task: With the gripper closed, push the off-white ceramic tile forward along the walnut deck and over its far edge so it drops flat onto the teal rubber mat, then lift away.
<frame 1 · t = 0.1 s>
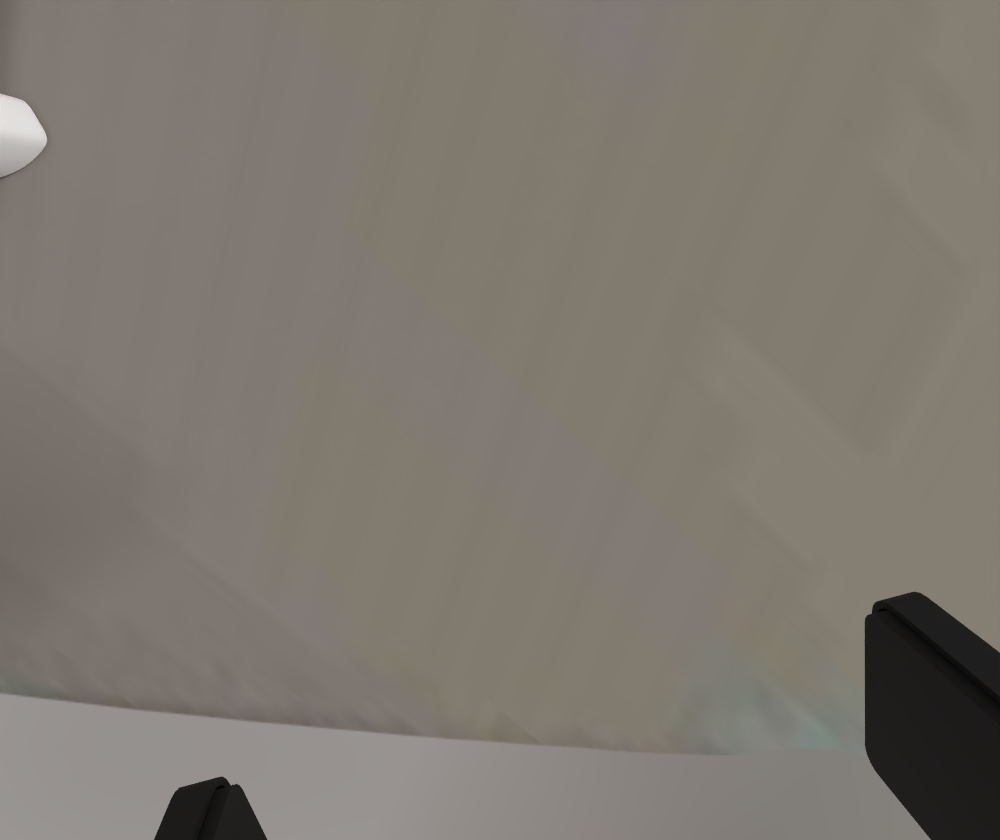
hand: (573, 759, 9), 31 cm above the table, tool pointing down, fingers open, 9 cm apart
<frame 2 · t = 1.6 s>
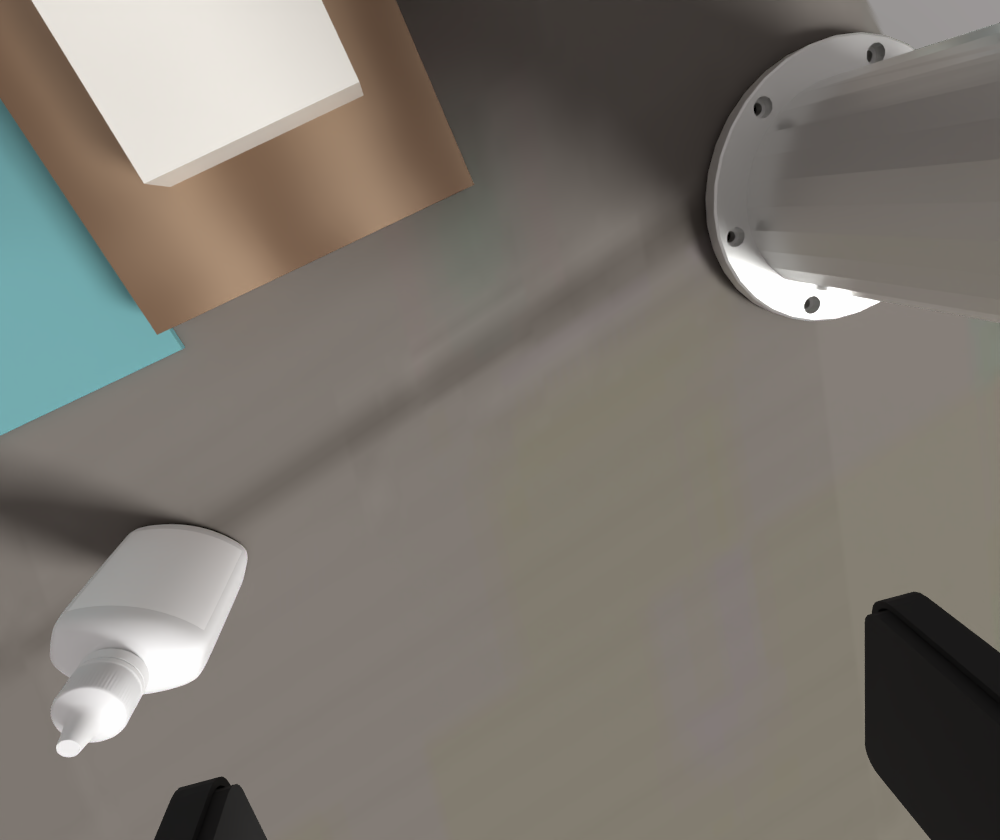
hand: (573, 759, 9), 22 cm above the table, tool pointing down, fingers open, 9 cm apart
tile: (214, 41, 22), point 3 cm above the table, touching deck
eye dropper bottle: (191, 552, 31), on the table
deck: (224, 67, 25), on the table
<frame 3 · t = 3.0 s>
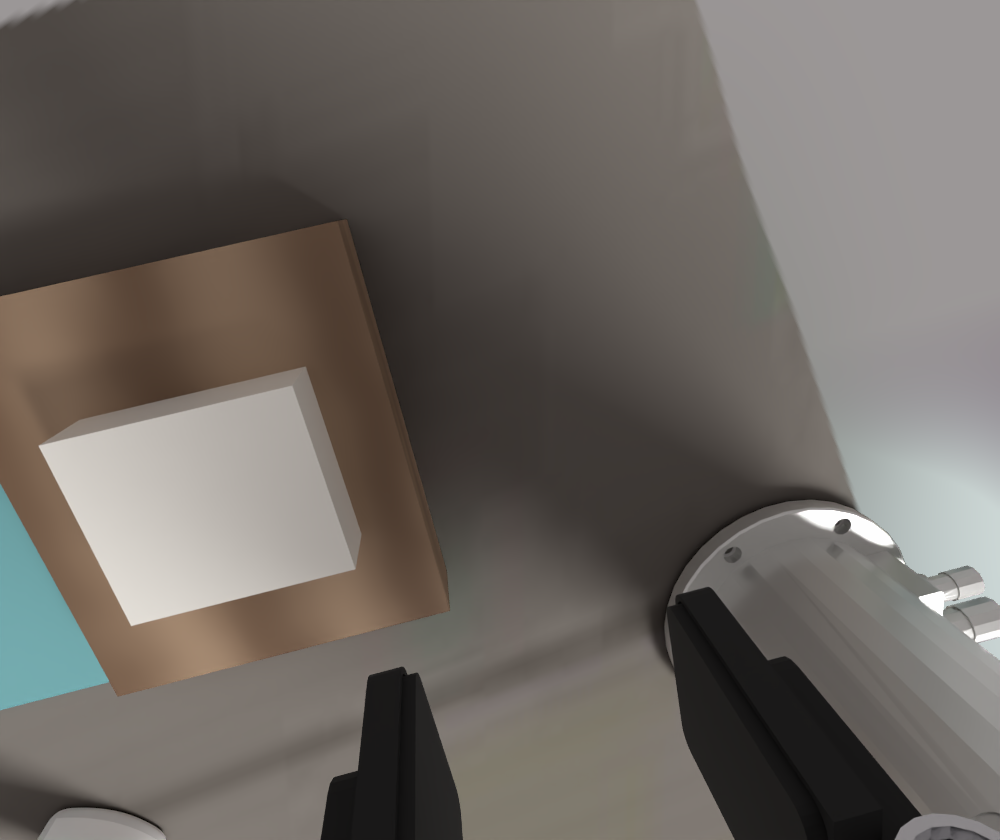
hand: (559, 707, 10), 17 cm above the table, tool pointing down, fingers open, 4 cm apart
tile: (229, 480, 23), point 3 cm above the table, touching deck
eye dropper bottle: (111, 829, 31), on the table
deck: (237, 453, 26), on the table
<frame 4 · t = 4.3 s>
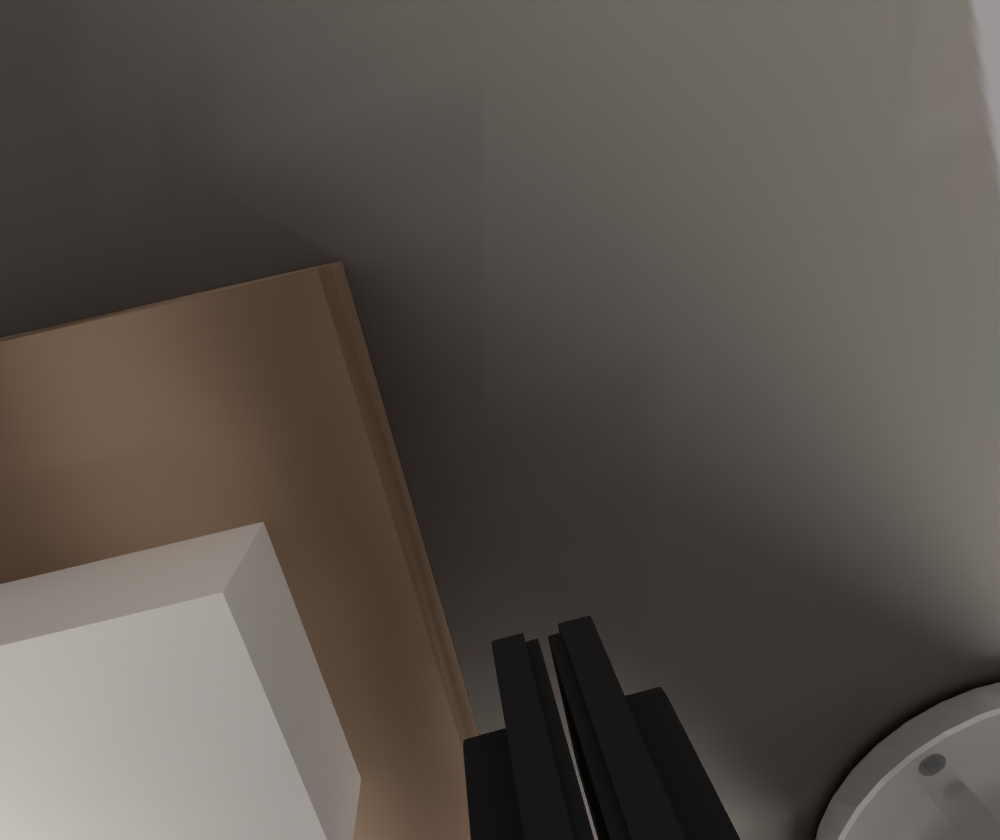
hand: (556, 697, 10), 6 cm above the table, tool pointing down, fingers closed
tile: (136, 704, 13), point 3 cm above the table, touching deck
deck: (170, 624, 16), on the table
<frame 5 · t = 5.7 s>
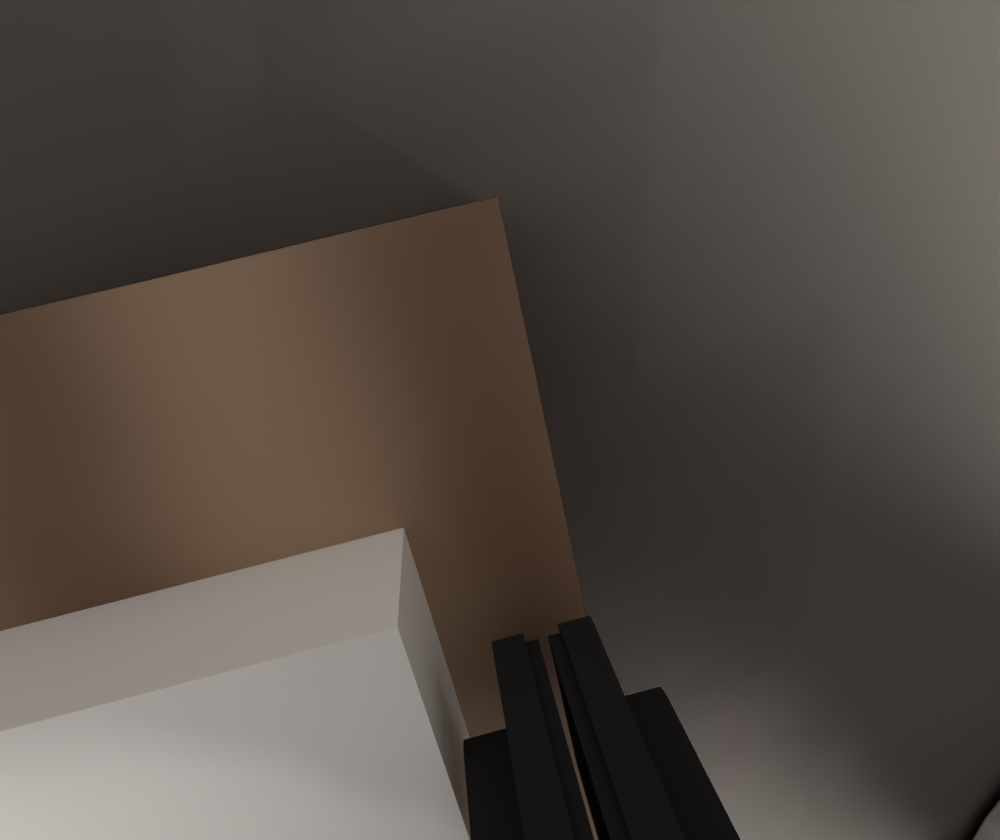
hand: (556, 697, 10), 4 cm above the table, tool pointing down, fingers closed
tile: (236, 754, 11), point 3 cm above the table, touching gripper
deck: (255, 647, 14), on the table
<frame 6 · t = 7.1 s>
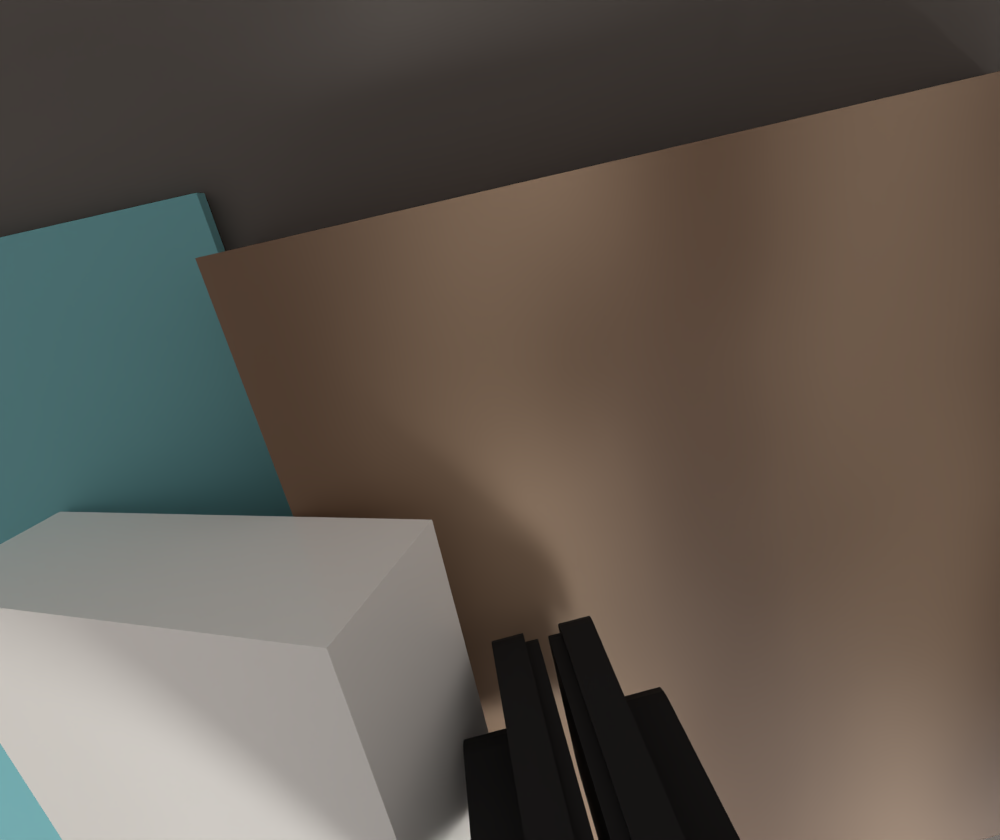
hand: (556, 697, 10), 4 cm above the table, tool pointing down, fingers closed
tile: (284, 680, 11), point 2 cm above the table, tilted 27°, touching gripper
mat: (87, 685, 13), on the table
deck: (680, 531, 14), on the table
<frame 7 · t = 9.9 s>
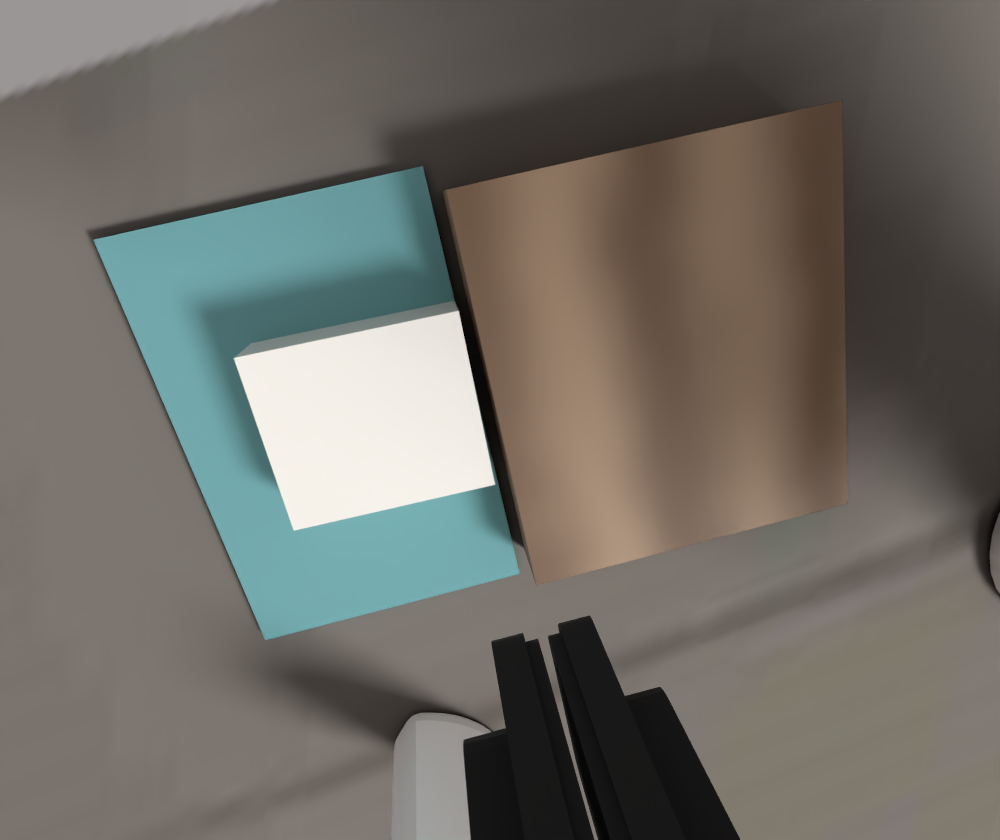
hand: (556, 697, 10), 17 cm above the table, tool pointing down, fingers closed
tile: (376, 405, 25), resting on mat
eye dropper bottle: (449, 736, 32), on the table
mat: (336, 426, 26), on the table
deck: (646, 350, 26), on the table
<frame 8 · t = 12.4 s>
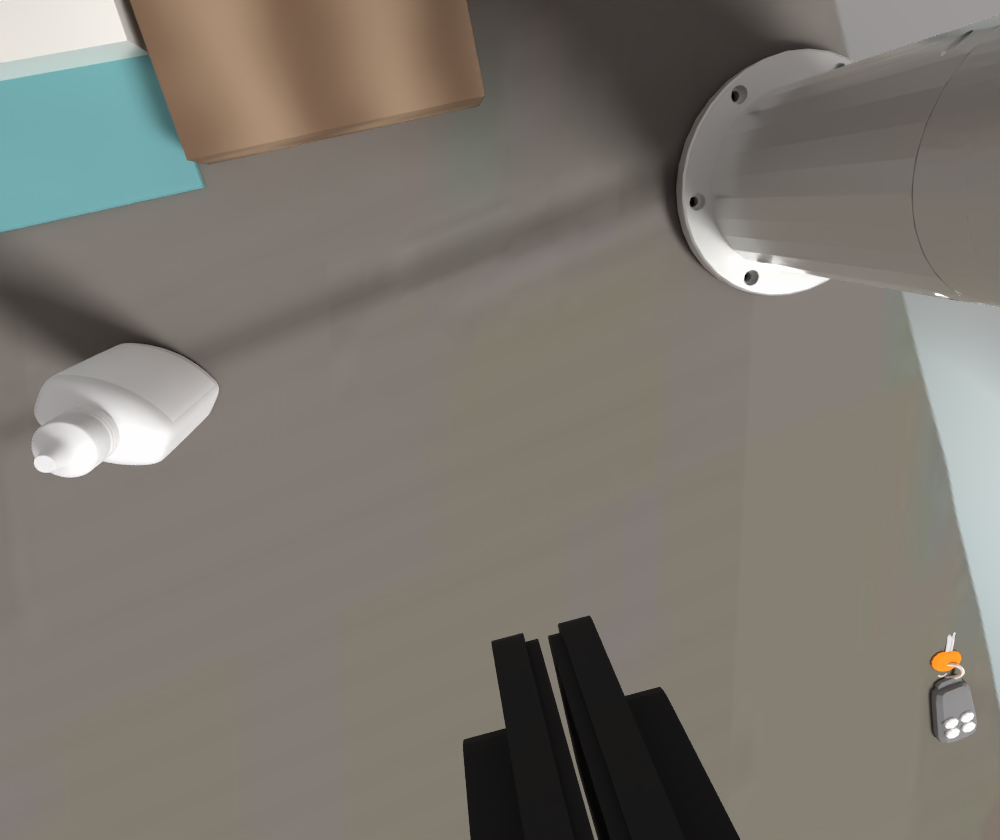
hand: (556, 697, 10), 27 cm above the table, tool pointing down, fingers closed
key chain: (940, 669, 50), on the table
eye dropper bottle: (168, 378, 34), on the table
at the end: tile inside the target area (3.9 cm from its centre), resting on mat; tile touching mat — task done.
